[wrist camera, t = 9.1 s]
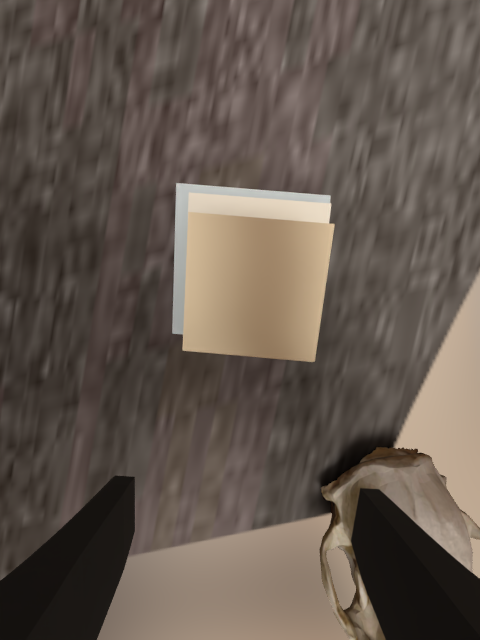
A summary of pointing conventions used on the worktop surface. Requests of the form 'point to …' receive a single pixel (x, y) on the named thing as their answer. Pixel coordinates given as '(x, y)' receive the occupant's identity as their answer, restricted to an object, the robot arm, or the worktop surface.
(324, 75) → the worktop surface
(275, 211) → the tower top
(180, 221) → the tower base
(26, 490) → the worktop surface
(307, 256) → the maple block
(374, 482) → the skull
